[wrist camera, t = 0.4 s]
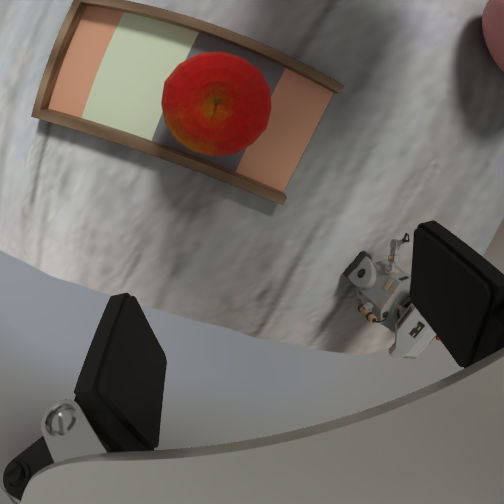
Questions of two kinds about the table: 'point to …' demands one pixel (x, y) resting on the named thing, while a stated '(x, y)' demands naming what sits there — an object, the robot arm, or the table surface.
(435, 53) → the table surface
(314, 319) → the table surface
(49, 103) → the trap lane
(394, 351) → the figurine
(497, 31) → the balloon
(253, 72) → the apple
